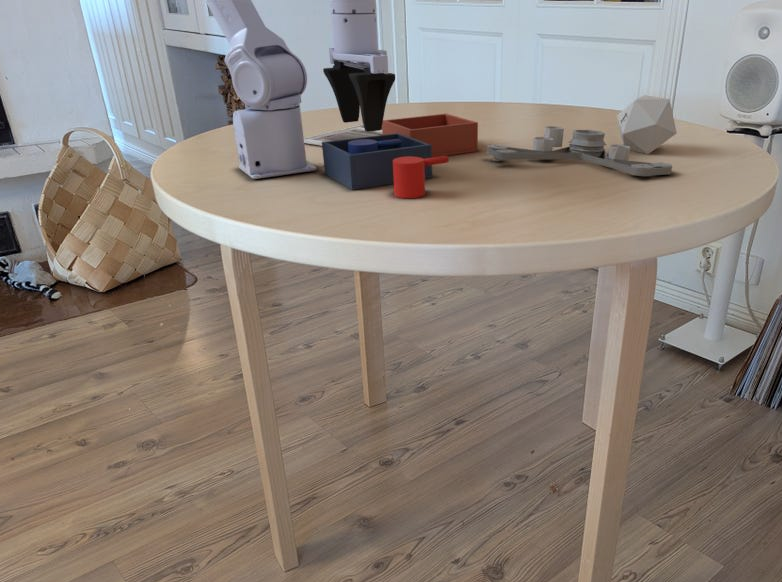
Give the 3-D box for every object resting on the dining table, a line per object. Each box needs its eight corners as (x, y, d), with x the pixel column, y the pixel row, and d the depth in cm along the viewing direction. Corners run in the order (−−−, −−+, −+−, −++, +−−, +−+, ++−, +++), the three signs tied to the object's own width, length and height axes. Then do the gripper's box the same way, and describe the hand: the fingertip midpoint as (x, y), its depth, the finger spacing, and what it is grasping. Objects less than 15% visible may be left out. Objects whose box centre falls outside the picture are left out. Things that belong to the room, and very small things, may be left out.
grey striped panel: (345, 149, 109) (412, 131, 122) (344, 145, 109) (412, 128, 122) (300, 142, 115) (368, 125, 127) (299, 139, 114) (368, 122, 127)
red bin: (411, 160, 103) (410, 130, 100) (383, 148, 110) (381, 120, 108) (477, 151, 108) (478, 122, 106) (446, 140, 115) (446, 113, 113)
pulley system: (507, 149, 111) (477, 164, 98) (509, 120, 109) (479, 131, 96) (675, 168, 103) (666, 186, 90) (681, 136, 100) (673, 151, 88)
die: (625, 146, 113) (603, 99, 106) (677, 120, 109) (657, 70, 103) (635, 175, 108) (612, 128, 101) (689, 149, 104) (670, 99, 97)
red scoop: (402, 200, 84) (401, 164, 81) (389, 193, 87) (387, 158, 84) (456, 191, 87) (456, 157, 85) (441, 184, 90) (440, 151, 88)
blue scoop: (357, 179, 91) (354, 146, 89) (346, 173, 94) (343, 141, 92) (408, 171, 94) (406, 139, 92) (395, 166, 97) (394, 135, 95)
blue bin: (352, 190, 88) (349, 155, 86) (324, 174, 96) (321, 142, 93) (432, 177, 93) (431, 144, 91) (400, 163, 101) (398, 132, 99)
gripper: (408, 14, 80) (412, 131, 86) (360, 11, 90) (366, 115, 97) (354, 15, 76) (362, 137, 83) (311, 12, 87) (321, 120, 94)
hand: (361, 126), depth 90 cm, fingers open, 7 cm apart
